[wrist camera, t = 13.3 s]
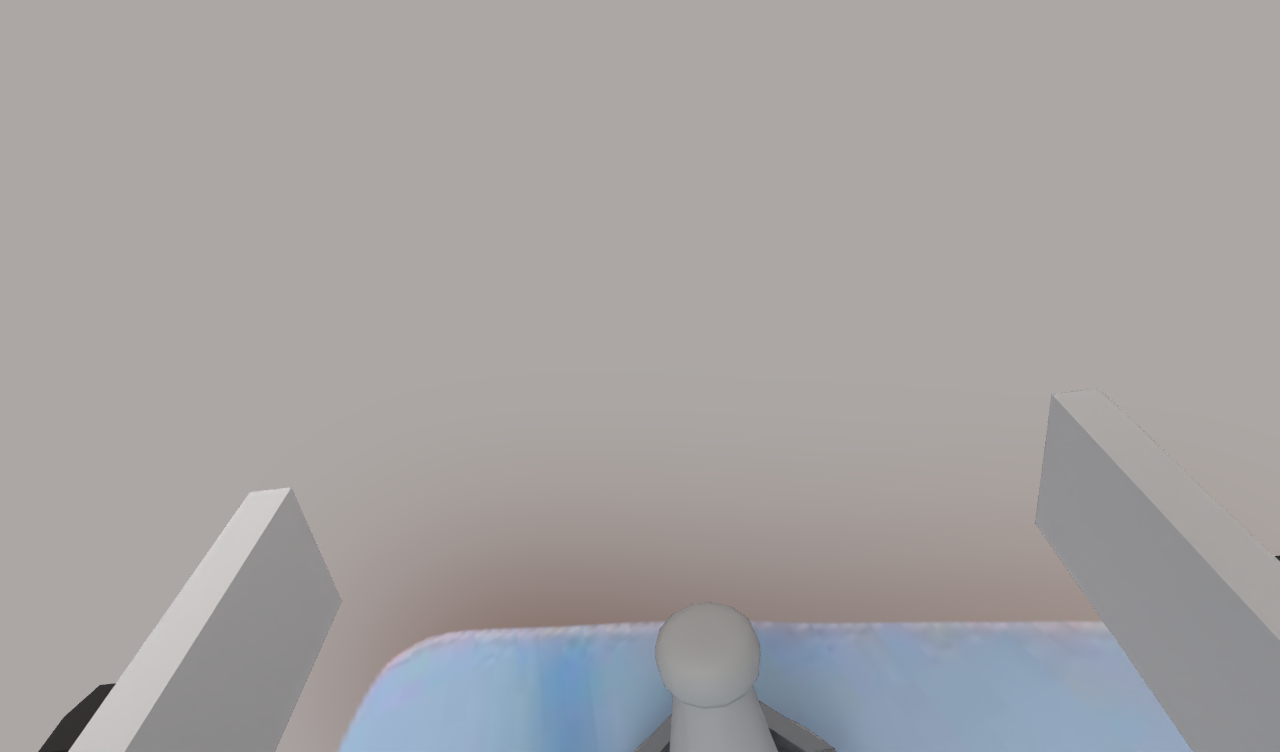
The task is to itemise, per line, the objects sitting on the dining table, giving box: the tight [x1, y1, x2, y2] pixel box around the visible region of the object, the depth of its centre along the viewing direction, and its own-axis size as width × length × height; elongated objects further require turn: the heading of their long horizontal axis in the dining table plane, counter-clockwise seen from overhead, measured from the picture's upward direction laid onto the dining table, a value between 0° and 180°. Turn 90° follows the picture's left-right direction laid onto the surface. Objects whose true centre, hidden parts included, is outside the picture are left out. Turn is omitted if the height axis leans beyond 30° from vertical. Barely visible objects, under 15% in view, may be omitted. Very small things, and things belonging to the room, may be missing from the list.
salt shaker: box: [655, 602, 778, 752], centre depth 35 cm, size 6×6×13 cm
